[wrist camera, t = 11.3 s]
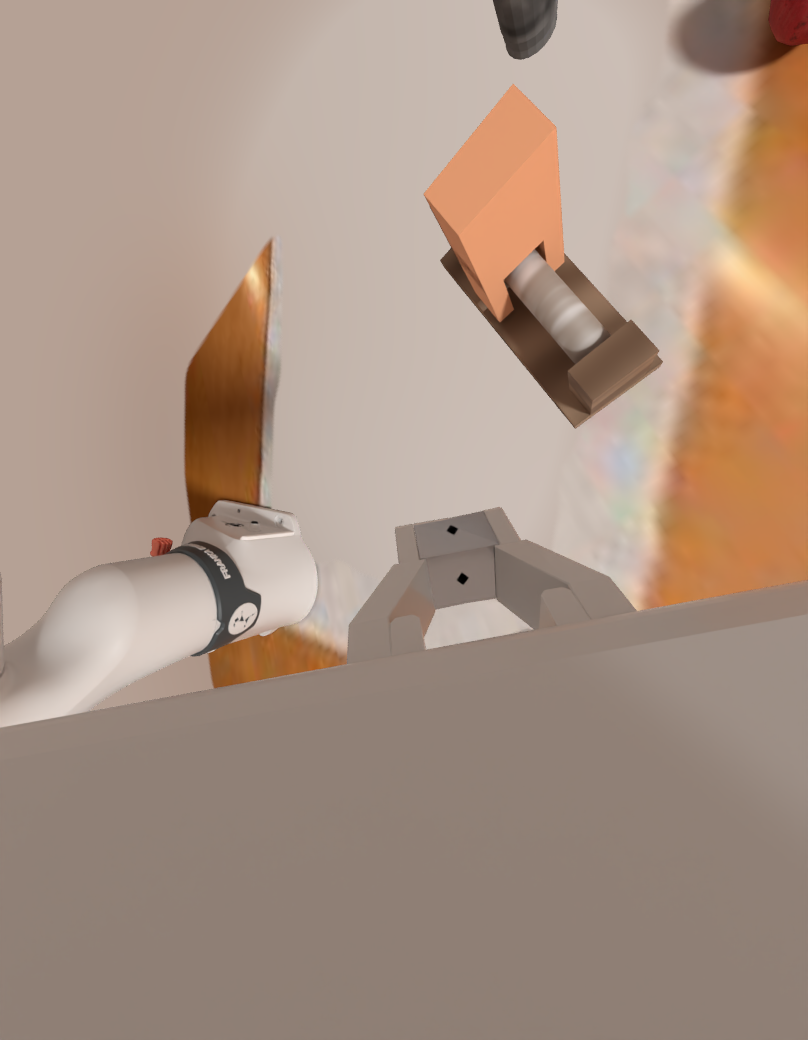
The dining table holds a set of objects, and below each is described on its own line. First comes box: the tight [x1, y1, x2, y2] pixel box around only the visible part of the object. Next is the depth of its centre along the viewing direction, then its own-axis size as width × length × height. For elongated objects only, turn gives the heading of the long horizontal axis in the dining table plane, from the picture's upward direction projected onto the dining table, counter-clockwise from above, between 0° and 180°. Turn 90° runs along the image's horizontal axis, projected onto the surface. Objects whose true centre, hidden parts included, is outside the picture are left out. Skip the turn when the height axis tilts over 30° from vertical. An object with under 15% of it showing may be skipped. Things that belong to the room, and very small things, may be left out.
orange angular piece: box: [424, 84, 565, 322], centre depth 28 cm, size 4×7×13 cm, turn 128°
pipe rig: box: [430, 207, 663, 429], centre depth 32 cm, size 22×8×8 cm, turn 38°
